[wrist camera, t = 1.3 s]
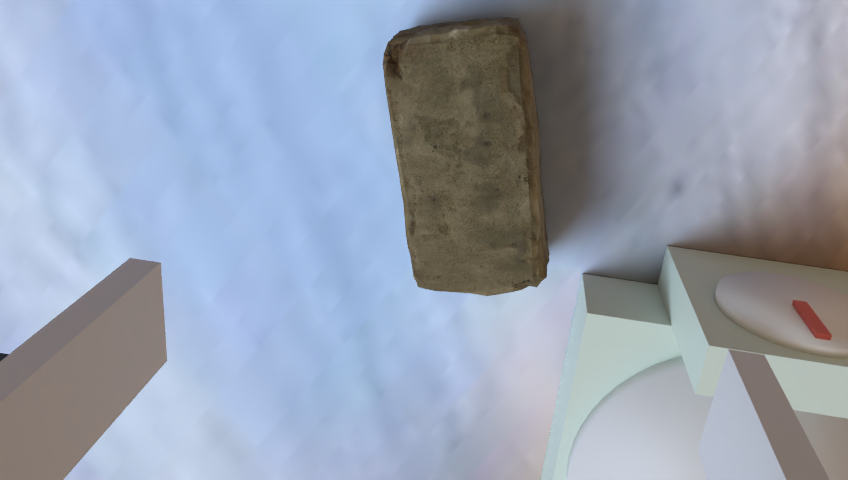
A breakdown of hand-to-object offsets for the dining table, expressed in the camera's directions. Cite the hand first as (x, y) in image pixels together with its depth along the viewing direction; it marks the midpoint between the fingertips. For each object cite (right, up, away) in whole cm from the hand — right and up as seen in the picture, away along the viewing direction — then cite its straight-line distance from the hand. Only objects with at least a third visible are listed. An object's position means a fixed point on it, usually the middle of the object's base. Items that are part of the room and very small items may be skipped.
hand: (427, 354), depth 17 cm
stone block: (+2, +7, +16) cm, 18 cm away
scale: (+14, -6, +19) cm, 25 cm away
